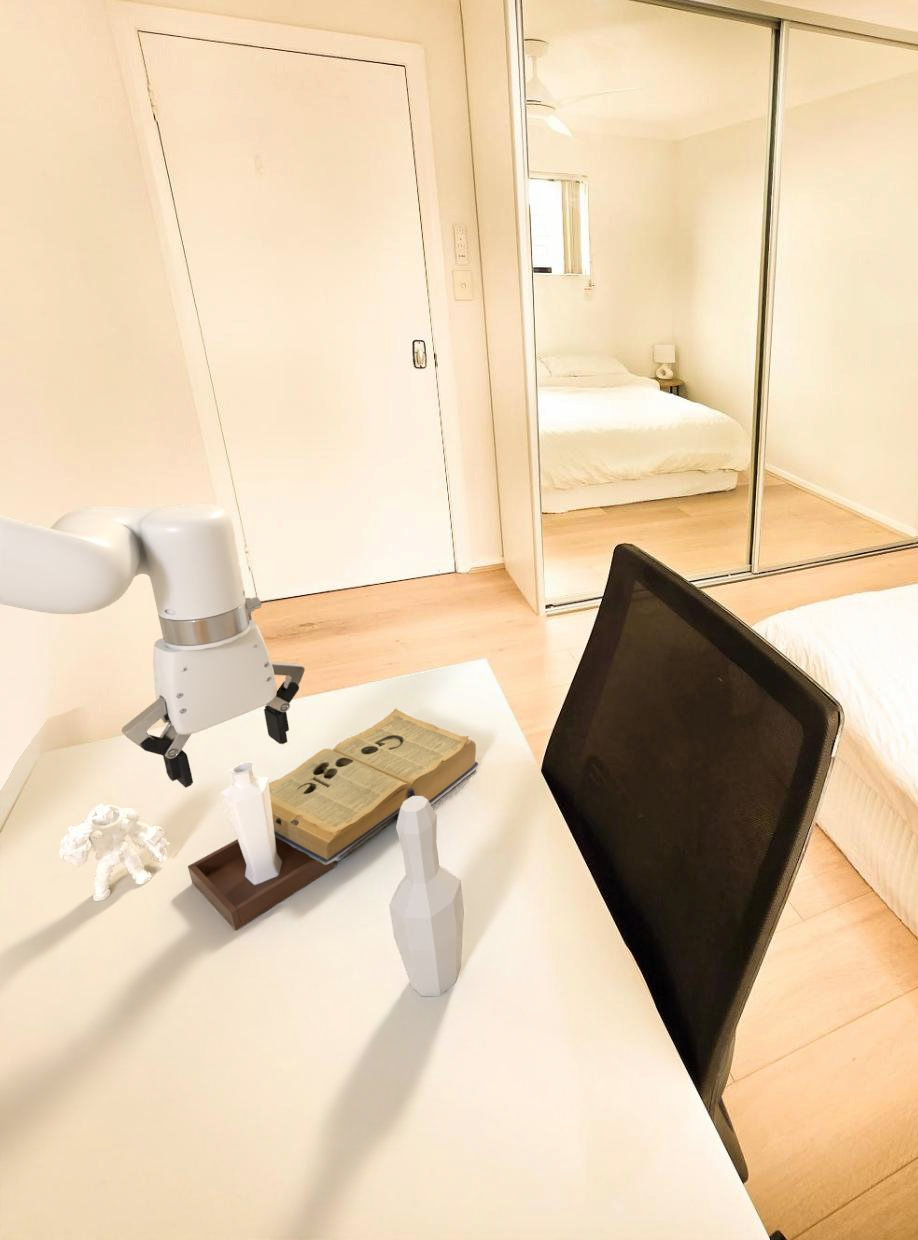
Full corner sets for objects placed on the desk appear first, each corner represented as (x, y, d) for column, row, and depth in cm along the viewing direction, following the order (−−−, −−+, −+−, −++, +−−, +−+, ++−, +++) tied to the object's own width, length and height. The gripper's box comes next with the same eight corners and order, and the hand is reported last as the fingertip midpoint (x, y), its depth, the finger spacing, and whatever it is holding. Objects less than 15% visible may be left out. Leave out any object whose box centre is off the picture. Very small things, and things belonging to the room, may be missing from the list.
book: (401, 735, 110) (397, 703, 108) (480, 767, 103) (477, 733, 101) (244, 835, 89) (236, 797, 87) (330, 883, 82) (323, 843, 80)
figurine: (101, 924, 76) (72, 838, 72) (60, 919, 77) (29, 833, 73) (178, 855, 86) (156, 775, 82) (141, 850, 86) (117, 771, 82)
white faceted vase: (246, 862, 84) (222, 760, 79) (286, 853, 86) (265, 752, 81) (236, 891, 80) (210, 785, 75) (279, 881, 82) (257, 777, 77)
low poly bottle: (480, 958, 74) (463, 789, 67) (443, 1013, 68) (421, 835, 61) (429, 942, 75) (408, 775, 68) (389, 994, 70) (361, 818, 62)
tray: (235, 931, 76) (231, 913, 75) (192, 883, 82) (187, 866, 81) (335, 867, 85) (332, 850, 84) (289, 828, 91) (285, 812, 90)
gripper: (275, 588, 81) (295, 714, 86) (89, 640, 67) (126, 785, 73) (308, 605, 77) (327, 736, 82) (118, 664, 63) (155, 815, 69)
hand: (233, 759), depth 78 cm, fingers open, 9 cm apart
